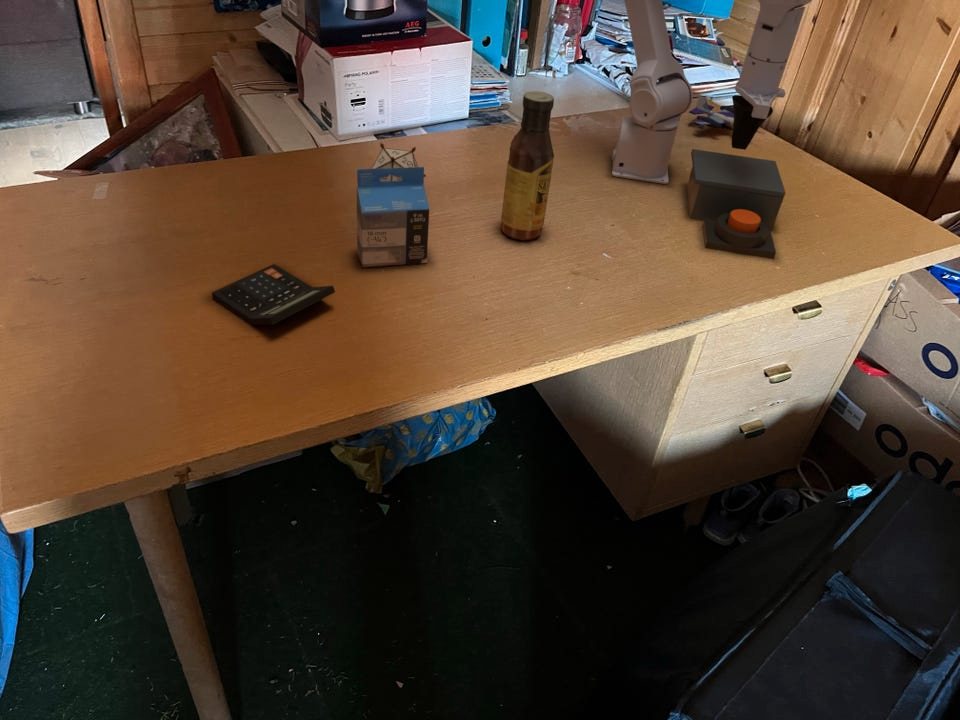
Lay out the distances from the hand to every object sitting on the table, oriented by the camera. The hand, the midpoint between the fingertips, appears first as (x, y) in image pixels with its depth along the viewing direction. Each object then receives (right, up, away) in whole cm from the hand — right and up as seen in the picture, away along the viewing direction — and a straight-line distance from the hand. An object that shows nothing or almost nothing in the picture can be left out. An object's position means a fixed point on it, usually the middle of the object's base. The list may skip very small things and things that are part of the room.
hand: (738, 147), depth 116 cm
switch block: (-1, -15, -2) cm, 15 cm away
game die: (-53, -8, 0) cm, 53 cm away
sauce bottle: (-34, -14, -5) cm, 37 cm away
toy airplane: (+7, +12, +32) cm, 35 cm away
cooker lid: (+1, -3, +3) cm, 4 cm away
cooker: (0, -8, +6) cm, 10 cm away
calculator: (-65, -26, -24) cm, 74 cm away
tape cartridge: (-52, -19, -14) cm, 57 cm away
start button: (-1, -13, -4) cm, 13 cm away
